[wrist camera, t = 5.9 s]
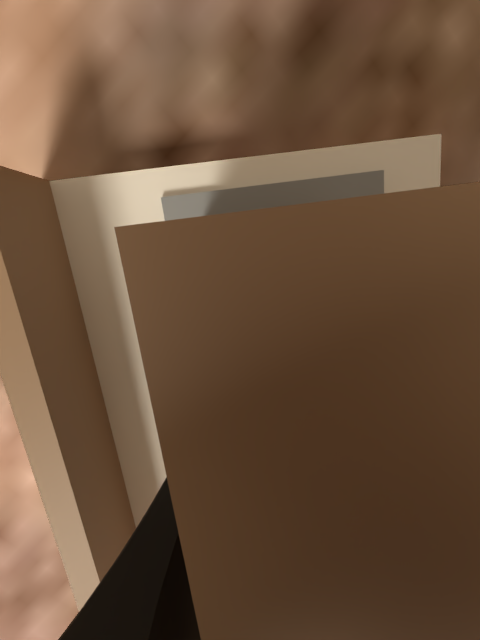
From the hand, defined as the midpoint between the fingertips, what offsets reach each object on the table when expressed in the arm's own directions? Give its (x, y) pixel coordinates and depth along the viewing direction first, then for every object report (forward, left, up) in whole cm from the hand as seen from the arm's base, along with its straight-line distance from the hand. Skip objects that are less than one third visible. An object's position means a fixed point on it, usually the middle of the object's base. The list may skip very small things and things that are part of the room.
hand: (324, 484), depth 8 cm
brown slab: (0, 0, -3) cm, 4 cm away
